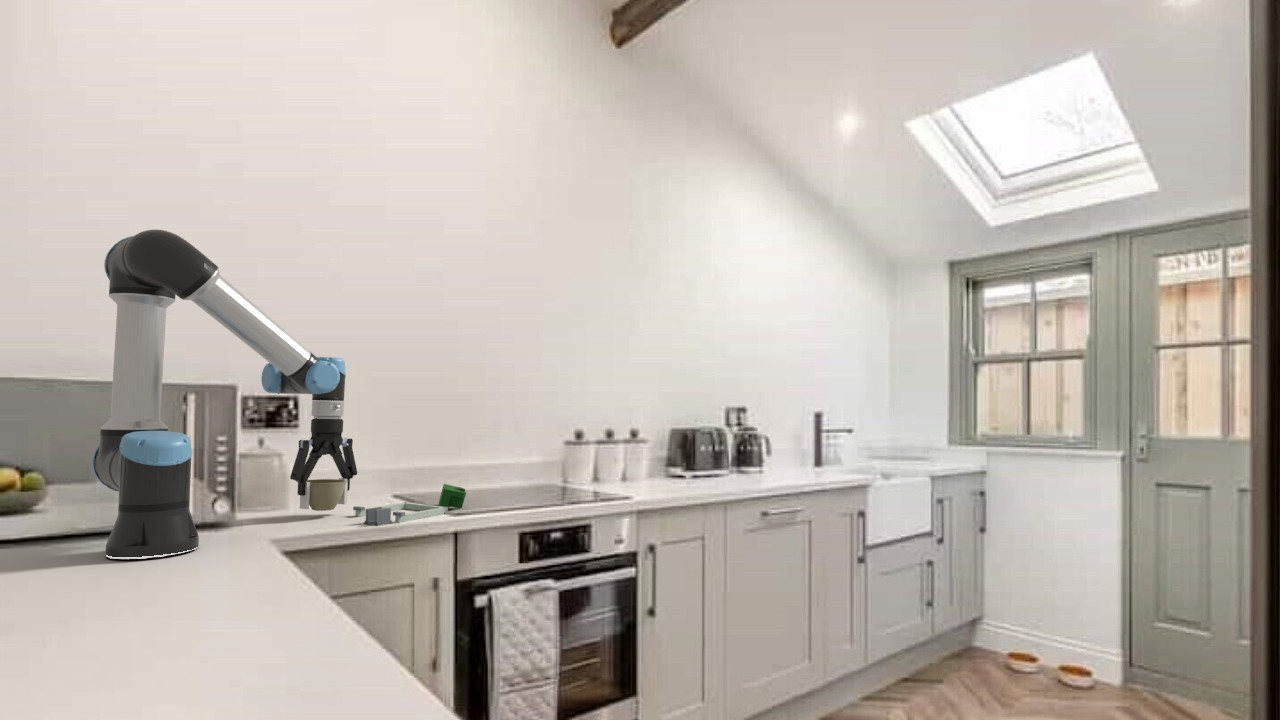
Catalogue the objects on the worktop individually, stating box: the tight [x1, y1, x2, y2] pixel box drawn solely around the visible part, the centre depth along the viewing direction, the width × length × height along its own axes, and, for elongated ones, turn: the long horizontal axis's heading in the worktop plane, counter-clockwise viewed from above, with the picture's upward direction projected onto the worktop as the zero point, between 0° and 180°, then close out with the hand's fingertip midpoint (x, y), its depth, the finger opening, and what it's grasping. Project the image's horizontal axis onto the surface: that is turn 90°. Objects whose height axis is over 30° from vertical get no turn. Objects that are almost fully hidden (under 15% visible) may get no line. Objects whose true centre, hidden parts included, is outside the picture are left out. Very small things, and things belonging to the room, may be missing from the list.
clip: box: [363, 506, 393, 526], centre depth 172 cm, size 4×5×4 cm
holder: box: [352, 501, 449, 523], centre depth 184 cm, size 16×18×2 cm
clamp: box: [438, 483, 467, 509], centre depth 196 cm, size 12×6×9 cm, turn 10°
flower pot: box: [307, 478, 346, 512], centre depth 181 cm, size 10×10×7 cm
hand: (323, 506), depth 180 cm, fingers closed on flower pot, 10 cm apart
